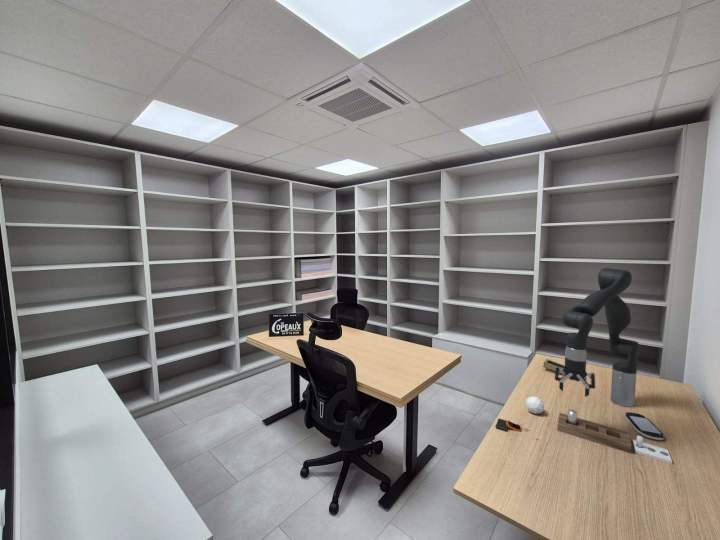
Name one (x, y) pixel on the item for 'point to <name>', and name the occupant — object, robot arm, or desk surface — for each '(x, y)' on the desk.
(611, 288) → the robot arm
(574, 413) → the steel pin
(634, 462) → the desk surface
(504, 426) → the multimeter
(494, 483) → the desk surface
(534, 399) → the geometric ball
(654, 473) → the desk surface
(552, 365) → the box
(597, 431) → the pin board
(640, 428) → the gaming console
